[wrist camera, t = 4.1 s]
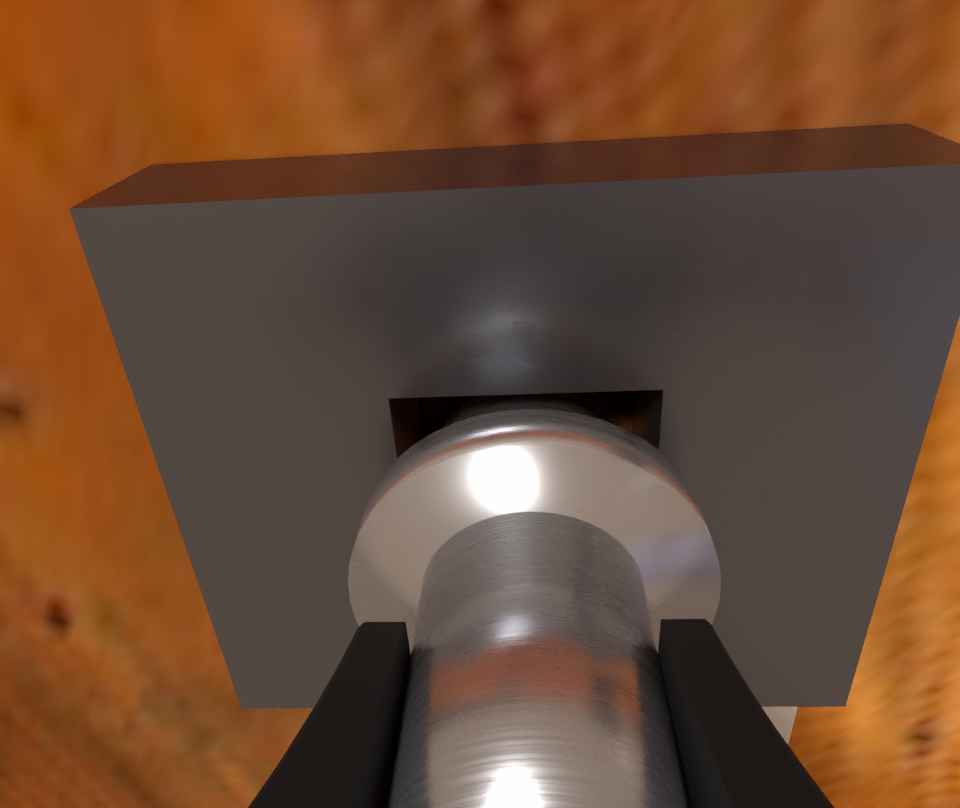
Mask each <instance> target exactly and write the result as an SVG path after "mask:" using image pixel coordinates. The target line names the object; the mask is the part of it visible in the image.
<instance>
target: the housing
mask: <svg viewBox="0 0 960 808" xmlns="http://www.w3.org/2000/svg"><path fill="white" fill-rule="evenodd" d="M70 212H71V215H72V218H73V221H74V224H75V227H76V229H77V232H78V235H79V238H80V241H81V244H82V247H83V250H84V253H85V256H86V258H87V261H88V264H89V267H90V270H91V273H92V276H93V279H94V282H95V285H96V288H97V290H98V293H99V296H100V299H101V302H102V305H103V308H104V311H105V314H106V317H107V319H108V322H109V325H110V328H111V331H112V334H113V337H114V340H115V343H116V346H117V348H118V351H119V354H120V357H121V360H122V363H123V366H124V369H125V372H126V375H127V377H128V380H129V383H130V386H131V389H132V392H133V395H134V398H135V401H136V404H137V406H138V409H139V412H140V415H141V418H142V421H143V424H144V427H145V430H146V433H147V435H148V438H149V441H150V444H151V447H152V450H153V453H154V456H155V459H156V462H157V465H158V467H159V470H160V473H161V476H162V479H163V482H164V485H165V488H166V491H167V494H168V496H169V499H170V502H171V505H172V508H173V511H174V514H175V517H176V520H177V523H178V525H179V528H180V531H181V534H182V537H183V540H184V543H185V546H186V549H187V552H188V554H189V557H190V560H191V563H192V566H193V569H194V572H195V575H196V578H197V581H198V583H199V586H200V589H201V592H202V595H203V598H204V601H205V604H206V607H207V610H208V612H209V615H210V618H211V621H212V624H213V627H214V630H215V633H216V636H217V639H218V642H219V644H220V647H221V650H222V653H223V656H224V659H225V662H226V665H227V668H228V671H229V673H230V676H231V679H232V682H233V685H234V688H235V691H236V694H237V697H238V700H239V702H240V705H241V708H314V707H315V705H316V703H317V702H318V700H319V698H320V696H321V695H322V693H323V691H324V690H325V688H326V686H327V684H328V683H329V681H330V679H331V677H332V676H333V674H334V672H335V670H336V668H337V667H338V665H339V663H340V661H341V659H342V657H343V656H344V654H345V652H346V650H347V648H348V646H349V644H350V642H351V640H352V638H353V636H354V634H355V632H356V630H357V628H358V627H359V625H358V623H357V621H356V619H355V616H354V613H353V610H352V606H351V603H350V597H349V588H348V574H349V563H350V559H351V555H352V551H353V547H354V544H355V540H356V537H357V533H358V530H359V526H360V523H361V519H362V515H363V512H364V508H365V506H366V504H367V501H368V499H369V497H370V494H371V492H372V490H373V489H374V487H375V485H376V484H377V482H378V481H379V479H380V478H381V476H382V475H383V473H384V472H385V471H386V470H387V469H388V468H389V467H390V466H391V464H392V463H393V462H394V461H395V460H396V459H397V458H398V457H399V456H401V455H402V454H403V453H404V452H405V451H406V450H408V449H409V448H410V447H411V446H412V445H414V444H416V443H417V442H419V441H420V440H422V439H423V436H422V427H421V419H420V411H419V402H418V398H419V397H451V396H482V395H514V394H546V393H577V392H609V391H635V396H634V415H633V434H635V435H637V436H639V437H641V438H643V439H644V440H646V441H647V442H648V443H650V444H651V445H653V446H654V447H655V448H657V449H658V450H659V451H661V452H662V453H663V454H664V455H665V456H666V457H667V458H668V459H669V460H670V461H671V462H672V463H673V464H674V465H675V466H676V467H678V469H679V470H680V471H681V473H682V474H683V475H684V477H685V478H686V479H687V481H688V482H689V483H690V485H691V487H692V489H693V491H694V493H695V495H696V497H697V498H698V500H699V503H700V506H701V509H702V512H703V515H704V518H705V521H706V523H707V526H708V529H709V532H710V535H711V538H712V541H713V544H714V547H715V550H716V553H717V557H718V560H719V566H720V574H721V590H720V599H719V604H718V608H717V612H716V615H715V618H714V620H713V622H712V626H713V628H714V630H715V632H716V633H717V635H718V637H719V639H720V641H721V642H722V644H723V646H724V647H725V649H726V651H727V653H728V654H729V656H730V658H731V659H732V661H733V663H734V664H735V666H736V668H737V669H738V671H739V672H740V674H741V676H742V677H743V679H744V680H745V682H746V684H747V685H748V687H749V688H750V690H751V691H752V693H753V694H754V696H755V697H756V699H757V701H758V702H759V704H760V705H761V707H814V706H846V702H847V699H848V695H849V692H850V689H851V685H852V682H853V678H854V675H855V671H856V668H857V665H858V661H859V658H860V654H861V651H862V647H863V644H864V641H865V637H866V634H867V630H868V627H869V624H870V620H871V617H872V613H873V610H874V606H875V603H876V600H877V596H878V593H879V589H880V586H881V582H882V579H883V576H884V572H885V569H886V565H887V562H888V558H889V555H890V552H891V548H892V545H893V541H894V538H895V534H896V531H897V528H898V524H899V521H900V517H901V514H902V511H903V507H904V504H905V500H906V497H907V493H908V490H909V487H910V483H911V480H912V476H913V473H914V469H915V466H916V463H917V459H918V456H919V452H920V449H921V445H922V442H923V439H924V435H925V432H926V428H927V425H928V421H929V418H930V415H931V411H932V408H933V404H934V401H935V397H936V394H937V391H938V387H939V384H940V380H941V377H942V374H943V370H944V367H945V363H946V360H947V356H948V353H949V350H950V346H951V343H952V339H953V336H954V332H955V329H956V326H957V322H958V319H959V315H960V144H959V143H956V142H954V141H951V140H949V139H946V138H944V137H941V136H938V135H936V134H933V133H931V132H928V131H926V130H923V129H921V128H918V127H916V126H913V125H911V124H894V125H876V126H857V127H839V128H821V129H802V130H784V131H765V132H747V133H728V134H710V135H692V136H673V137H655V138H636V139H618V140H599V141H581V142H563V143H544V144H526V145H507V146H489V147H470V148H452V149H434V150H415V151H397V152H378V153H360V154H341V155H323V156H305V157H286V158H268V159H249V160H231V161H212V162H194V163H176V164H157V165H150V166H148V167H146V168H144V169H142V170H141V171H139V172H137V173H135V174H133V175H131V176H129V177H128V178H126V179H124V180H122V181H120V182H118V183H116V184H115V185H113V186H111V187H109V188H107V189H105V190H103V191H102V192H100V193H98V194H96V195H94V196H92V197H90V198H89V199H87V200H85V201H83V202H81V203H79V204H77V205H76V206H74V207H72V208H70Z"/></svg>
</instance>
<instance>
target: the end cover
mask: <svg viewBox="0 0 960 808" xmlns="http://www.w3.org/2000/svg"><path fill="white" fill-rule="evenodd" d="M348 588H349V597H350V603H351V606H352V610H353V613H354V616H355V619H356V621H357V623H358V625H359V626H360V625H361V624H363V623H364V622H406V628H407V634H408V641H409V647H410V653H411V659H410V665H409V672H408V678H407V684H406V691H405V697H404V704H403V710H402V717H401V723H400V730H399V736H398V742H397V749H396V755H395V762H394V768H393V775H392V781H391V787H390V794H389V800H388V807H387V808H689V805H688V800H687V795H686V790H685V785H684V780H683V776H682V771H681V766H680V761H679V756H678V751H677V746H676V741H675V736H674V732H673V727H672V722H671V717H670V712H669V707H668V702H667V697H666V692H665V688H664V683H663V678H662V673H661V668H660V663H659V658H658V646H659V635H660V623H661V619H706V620H707V621H708V622H709V623H710V624H711V625H712V622H713V620H714V618H715V615H716V612H717V608H718V604H719V599H720V590H721V574H720V566H719V560H718V557H717V553H716V550H715V547H714V544H713V541H712V538H711V535H710V532H709V529H708V526H707V523H706V521H705V518H704V515H703V512H702V509H701V506H700V503H699V500H698V498H697V497H696V495H695V493H694V491H693V489H692V487H691V485H690V483H689V482H688V481H687V479H686V478H685V477H684V475H683V474H682V473H681V471H680V470H679V469H678V467H676V466H675V465H674V464H673V463H672V462H671V461H670V460H669V459H668V458H667V457H666V456H665V455H664V454H663V453H662V452H661V451H659V450H658V449H657V448H655V447H654V446H653V445H651V444H650V443H648V442H647V441H646V440H644V439H643V438H641V437H639V436H637V435H635V434H633V433H632V432H630V431H628V430H626V429H624V428H622V427H619V426H617V425H615V424H614V422H613V421H612V420H611V418H610V417H609V416H608V415H607V414H606V413H605V412H604V411H603V410H602V409H601V408H600V407H598V406H597V405H595V404H594V403H593V402H591V401H590V400H588V399H586V398H584V397H583V396H581V395H579V394H577V393H546V394H514V395H482V396H477V397H475V398H473V399H472V400H470V401H469V402H467V403H465V404H464V405H463V406H462V407H460V408H459V409H458V410H457V411H456V412H454V414H453V415H452V416H451V417H450V418H449V419H448V420H447V421H446V423H445V424H444V426H443V427H442V429H440V430H438V431H436V432H433V433H431V434H430V435H428V436H427V437H425V438H423V439H422V440H420V441H419V442H417V443H416V444H414V445H412V446H411V447H410V448H409V449H408V450H406V451H405V452H404V453H403V454H402V455H401V456H399V457H398V458H397V459H396V460H395V461H394V462H393V463H392V464H391V466H390V467H389V468H388V469H387V470H386V471H385V472H384V473H383V475H382V476H381V478H380V479H379V481H378V482H377V484H376V485H375V487H374V489H373V490H372V492H371V494H370V497H369V499H368V501H367V504H366V506H365V508H364V512H363V515H362V519H361V523H360V526H359V530H358V533H357V537H356V540H355V544H354V547H353V551H352V555H351V559H350V563H349V574H348Z"/></svg>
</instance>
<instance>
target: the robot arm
mask: <svg viewBox="0 0 960 808" xmlns="http://www.w3.org/2000/svg"><path fill="white" fill-rule="evenodd" d="M658 658H659V663H660V668H661V673H662V678H663V683H664V688H665V692H666V697H667V702H668V707H669V712H670V717H671V722H672V727H673V732H674V736H675V741H676V746H677V751H678V756H679V761H680V766H681V771H682V776H683V780H684V785H685V790H686V795H687V800H688V805H689V808H834V807H833V806H832V804H831V803H830V802H829V800H828V799H827V798H826V797H825V795H824V794H823V792H822V791H821V790H820V788H819V787H818V786H817V784H816V783H815V782H814V780H813V779H812V778H811V776H810V775H809V774H808V772H807V771H806V770H805V768H804V767H803V765H802V764H801V763H800V761H799V760H798V758H797V757H796V756H795V754H794V753H793V751H792V750H791V749H790V747H789V746H788V744H787V743H786V742H785V740H784V739H783V737H782V736H781V734H780V733H779V732H778V730H777V729H776V727H775V726H774V724H773V723H772V722H771V720H770V719H769V717H768V716H767V714H766V713H765V711H764V710H763V708H762V707H761V705H760V704H759V702H758V701H757V699H756V697H755V696H754V694H753V693H752V691H751V690H750V688H749V687H748V685H747V684H746V682H745V680H744V679H743V677H742V676H741V674H740V672H739V671H738V669H737V668H736V666H735V664H734V663H733V661H732V659H731V658H730V656H729V654H728V653H727V651H726V649H725V647H724V646H723V644H722V642H721V641H720V639H719V637H718V635H717V633H716V632H715V630H714V628H713V626H712V625H711V624H710V623H709V622H708V621H707V620H706V619H661V623H660V635H659V646H658ZM410 659H411V653H410V647H409V641H408V634H407V628H406V622H364V623H363V624H361V625H360V626H359V627H358V628H357V630H356V632H355V634H354V636H353V638H352V640H351V642H350V644H349V646H348V648H347V650H346V652H345V654H344V656H343V657H342V659H341V661H340V663H339V665H338V667H337V668H336V670H335V672H334V674H333V676H332V677H331V679H330V681H329V683H328V684H327V686H326V688H325V690H324V691H323V693H322V695H321V696H320V698H319V700H318V702H317V703H316V705H315V707H314V708H313V710H312V712H311V713H310V715H309V716H308V718H307V720H306V721H305V723H304V724H303V726H302V728H301V729H300V731H299V732H298V734H297V736H296V737H295V739H294V740H293V742H292V744H291V745H290V747H289V748H288V750H287V752H286V753H285V755H284V756H283V758H282V759H281V761H280V762H279V764H278V765H277V767H276V768H275V770H274V771H273V773H272V774H271V776H270V777H269V779H268V780H267V781H266V783H265V784H264V786H263V787H262V789H261V790H260V791H259V793H258V794H257V796H256V797H255V799H254V800H253V802H252V803H251V804H250V806H249V807H248V808H387V807H388V800H389V794H390V787H391V781H392V775H393V768H394V762H395V755H396V749H397V742H398V736H399V730H400V723H401V717H402V710H403V704H404V697H405V691H406V684H407V678H408V672H409V665H410Z"/></svg>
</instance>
